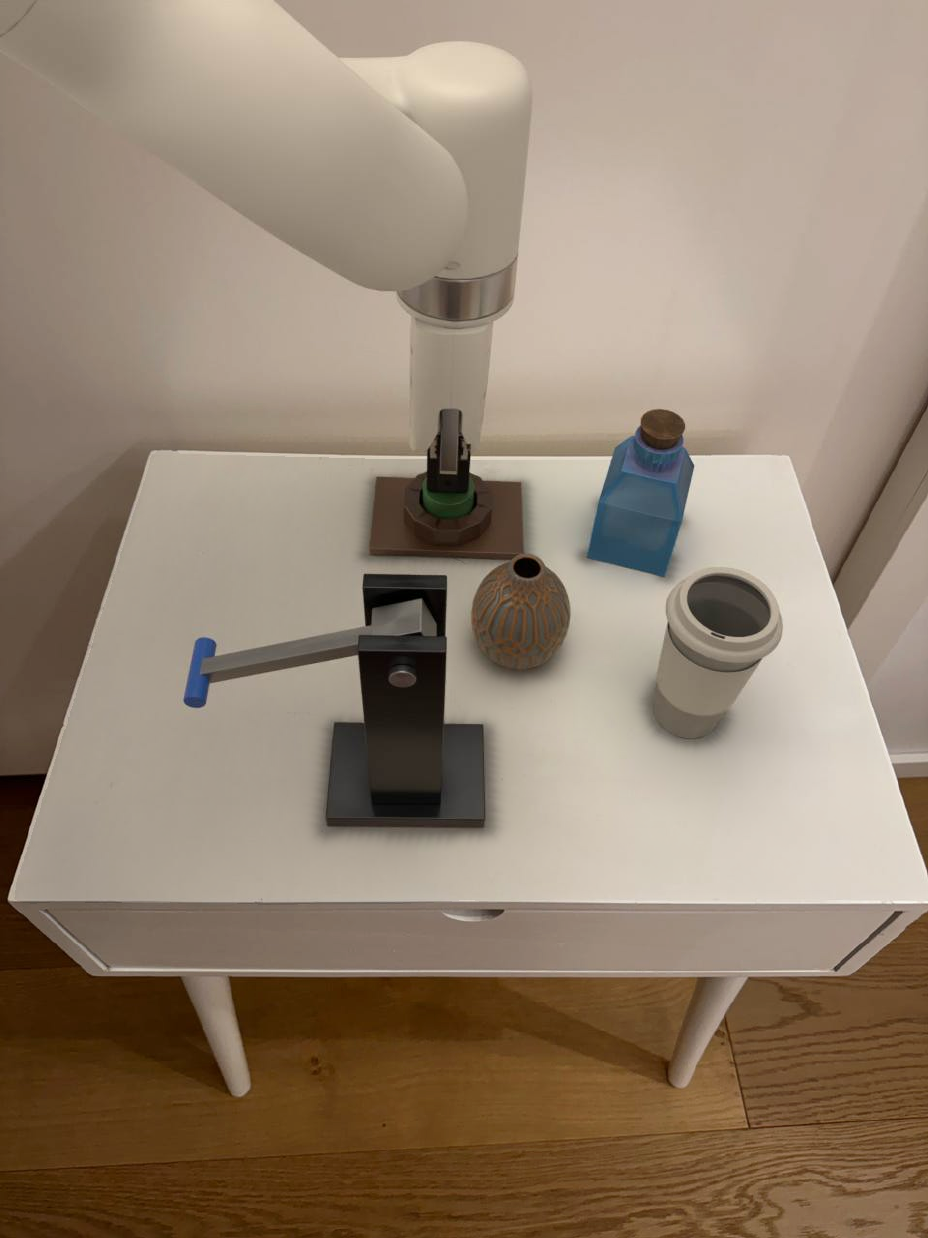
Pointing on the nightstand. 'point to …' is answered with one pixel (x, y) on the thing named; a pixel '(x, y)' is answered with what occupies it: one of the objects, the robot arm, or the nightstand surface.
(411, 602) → the light lever
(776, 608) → the cup
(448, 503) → the light button
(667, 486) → the perfume bottle
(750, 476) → the nightstand surface
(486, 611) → the vase
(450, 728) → the switch bracket
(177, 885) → the nightstand surface
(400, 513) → the button block
